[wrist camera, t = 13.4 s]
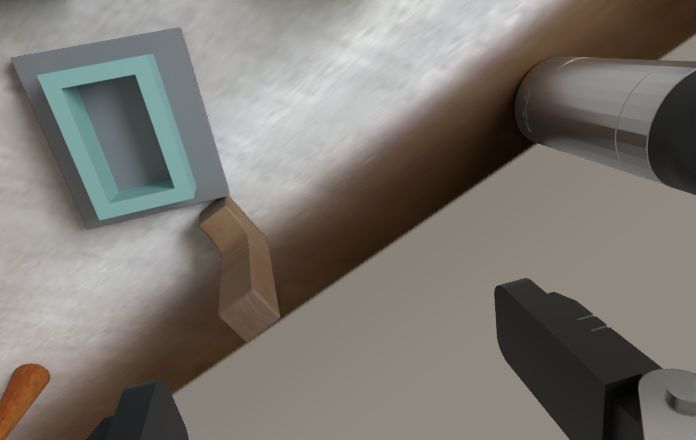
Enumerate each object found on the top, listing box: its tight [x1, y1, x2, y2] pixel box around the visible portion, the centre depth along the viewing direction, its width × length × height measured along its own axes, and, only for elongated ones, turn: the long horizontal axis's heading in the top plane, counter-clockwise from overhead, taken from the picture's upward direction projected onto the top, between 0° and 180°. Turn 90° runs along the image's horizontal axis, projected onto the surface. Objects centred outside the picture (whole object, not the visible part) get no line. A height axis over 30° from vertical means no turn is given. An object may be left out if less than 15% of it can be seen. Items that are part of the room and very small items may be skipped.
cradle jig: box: [11, 28, 229, 230], centre depth 38 cm, size 13×15×5 cm
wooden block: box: [199, 196, 280, 342], centre depth 39 cm, size 7×3×15 cm, turn 34°
